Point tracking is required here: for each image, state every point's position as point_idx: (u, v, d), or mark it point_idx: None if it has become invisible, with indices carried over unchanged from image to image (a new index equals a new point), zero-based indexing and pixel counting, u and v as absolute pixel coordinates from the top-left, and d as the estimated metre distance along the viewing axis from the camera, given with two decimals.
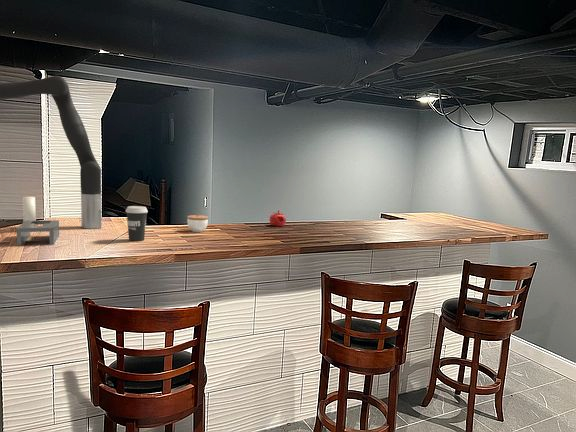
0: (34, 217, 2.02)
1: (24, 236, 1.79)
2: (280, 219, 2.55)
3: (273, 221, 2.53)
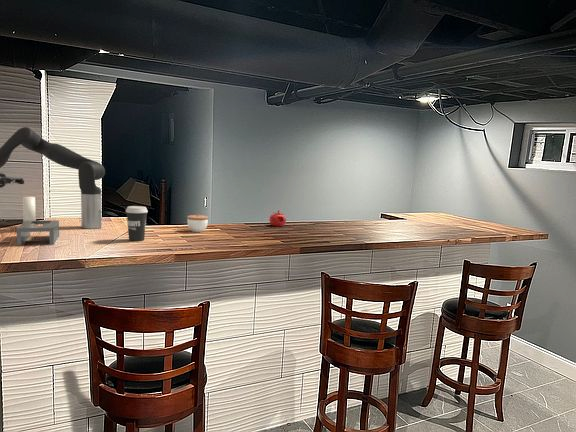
0: (34, 217, 2.02)
1: (24, 236, 1.79)
2: (280, 219, 2.55)
3: (273, 221, 2.53)
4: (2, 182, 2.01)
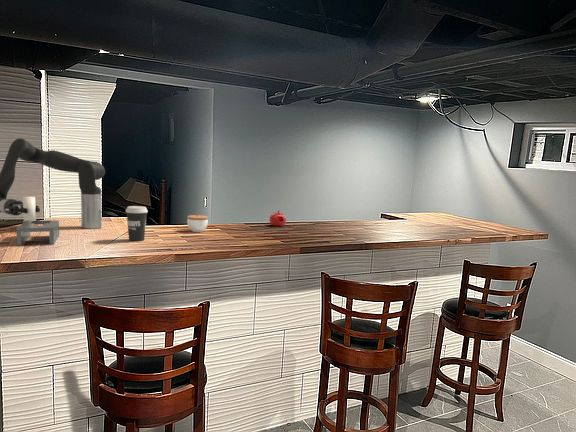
0: (34, 217, 2.02)
1: (24, 236, 1.79)
2: (280, 219, 2.55)
3: (273, 221, 2.53)
4: (24, 211, 1.97)
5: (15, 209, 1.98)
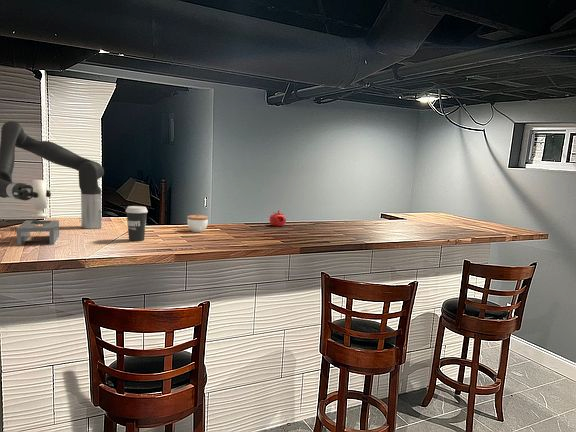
0: (45, 202, 1.87)
1: (24, 236, 1.79)
2: (280, 219, 2.55)
3: (273, 221, 2.53)
4: (34, 195, 1.82)
5: (24, 193, 1.83)
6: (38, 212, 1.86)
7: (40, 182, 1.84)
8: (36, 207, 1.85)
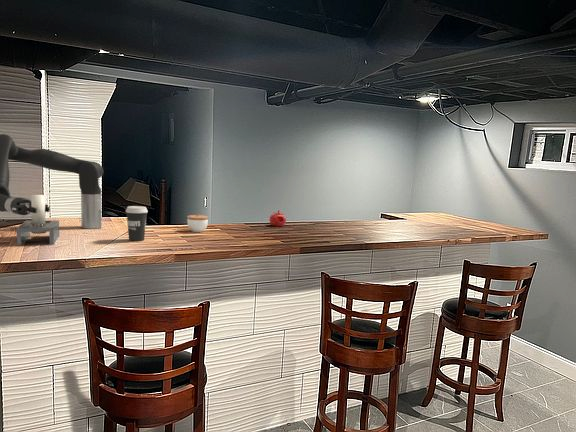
0: (43, 217, 1.84)
1: (24, 236, 1.79)
2: (280, 219, 2.55)
3: (273, 221, 2.53)
4: (33, 210, 1.80)
5: (23, 208, 1.80)
6: None
7: (39, 197, 1.81)
8: (35, 222, 1.82)
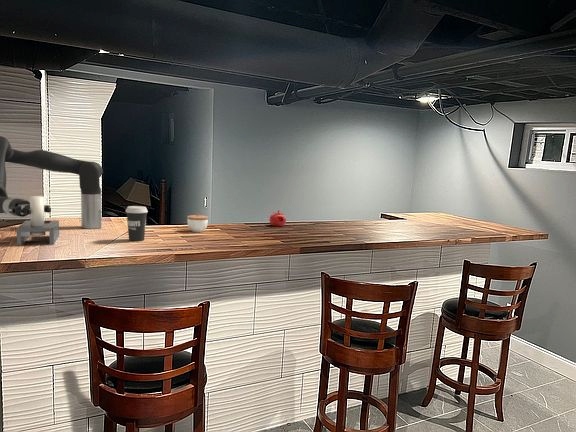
0: (42, 219, 1.80)
1: (24, 236, 1.79)
2: (280, 219, 2.55)
3: (273, 221, 2.53)
4: (27, 211, 1.74)
5: (16, 210, 1.75)
6: None
7: (37, 199, 1.77)
8: (34, 225, 1.78)
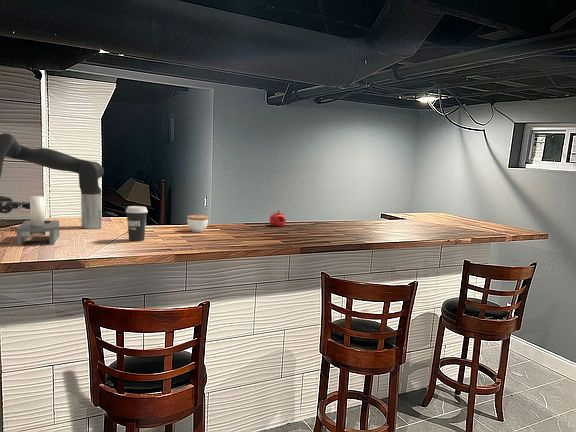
0: (42, 219, 1.80)
1: (24, 236, 1.79)
2: (280, 219, 2.55)
3: (273, 221, 2.53)
4: (8, 208, 1.80)
5: None
6: None
7: (37, 199, 1.77)
8: (34, 225, 1.78)
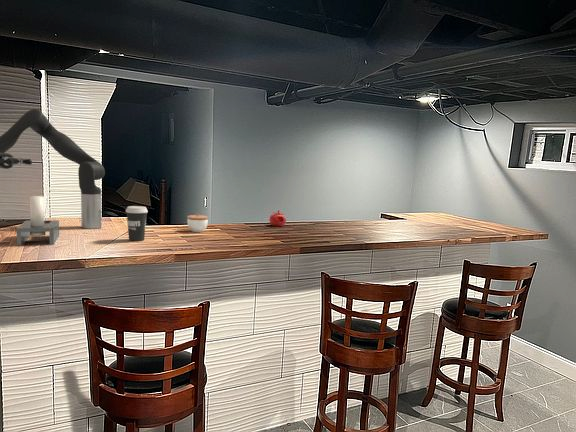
0: (42, 219, 1.80)
1: (24, 236, 1.79)
2: (280, 219, 2.55)
3: (273, 221, 2.53)
4: (9, 162, 1.95)
5: (0, 160, 1.95)
6: None
7: (37, 199, 1.77)
8: (34, 225, 1.78)
